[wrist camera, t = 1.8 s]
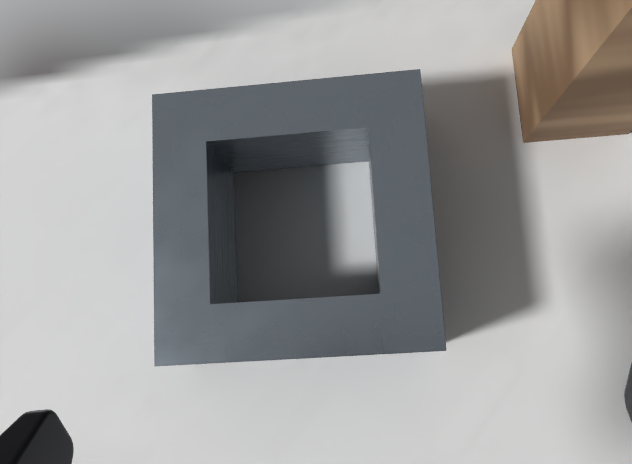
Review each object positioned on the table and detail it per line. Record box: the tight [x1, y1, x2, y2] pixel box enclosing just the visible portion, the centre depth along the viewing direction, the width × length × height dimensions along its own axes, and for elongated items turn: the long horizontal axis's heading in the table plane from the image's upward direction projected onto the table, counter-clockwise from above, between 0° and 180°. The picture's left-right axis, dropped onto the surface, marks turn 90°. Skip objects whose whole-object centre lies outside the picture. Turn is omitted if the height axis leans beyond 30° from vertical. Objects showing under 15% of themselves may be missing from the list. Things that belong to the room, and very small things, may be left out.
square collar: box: [152, 69, 446, 366], centre depth 21 cm, size 9×9×4 cm
